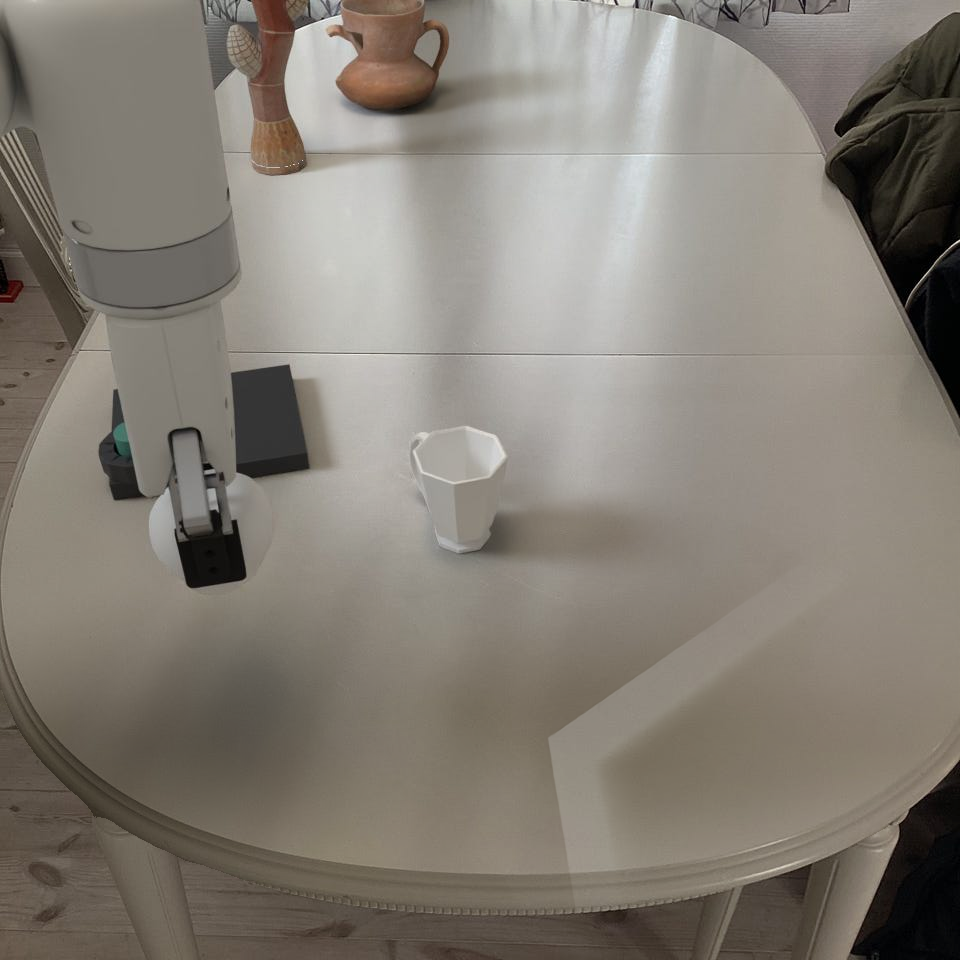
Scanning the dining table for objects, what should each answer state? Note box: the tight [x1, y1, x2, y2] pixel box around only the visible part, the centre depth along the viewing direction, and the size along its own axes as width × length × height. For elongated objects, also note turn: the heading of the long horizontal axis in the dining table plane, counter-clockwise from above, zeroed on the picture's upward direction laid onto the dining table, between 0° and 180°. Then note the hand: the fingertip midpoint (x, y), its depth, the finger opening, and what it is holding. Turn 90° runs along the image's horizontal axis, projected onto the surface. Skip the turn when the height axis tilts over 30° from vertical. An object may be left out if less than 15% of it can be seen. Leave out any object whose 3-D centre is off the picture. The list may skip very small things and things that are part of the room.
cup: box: [407, 425, 509, 555], centre depth 78 cm, size 7×10×8 cm
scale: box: [98, 363, 310, 501], centre depth 88 cm, size 16×14×4 cm
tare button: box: [113, 422, 132, 458], centre depth 83 cm, size 3×3×2 cm
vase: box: [226, 0, 309, 176], centre depth 127 cm, size 10×7×30 cm
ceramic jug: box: [325, 0, 450, 110], centre depth 150 cm, size 18×14×14 cm
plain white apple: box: [148, 469, 276, 596], centre depth 58 cm, size 7×7×8 cm
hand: (213, 531), depth 58 cm, fingers closed on plain white apple, 7 cm apart
